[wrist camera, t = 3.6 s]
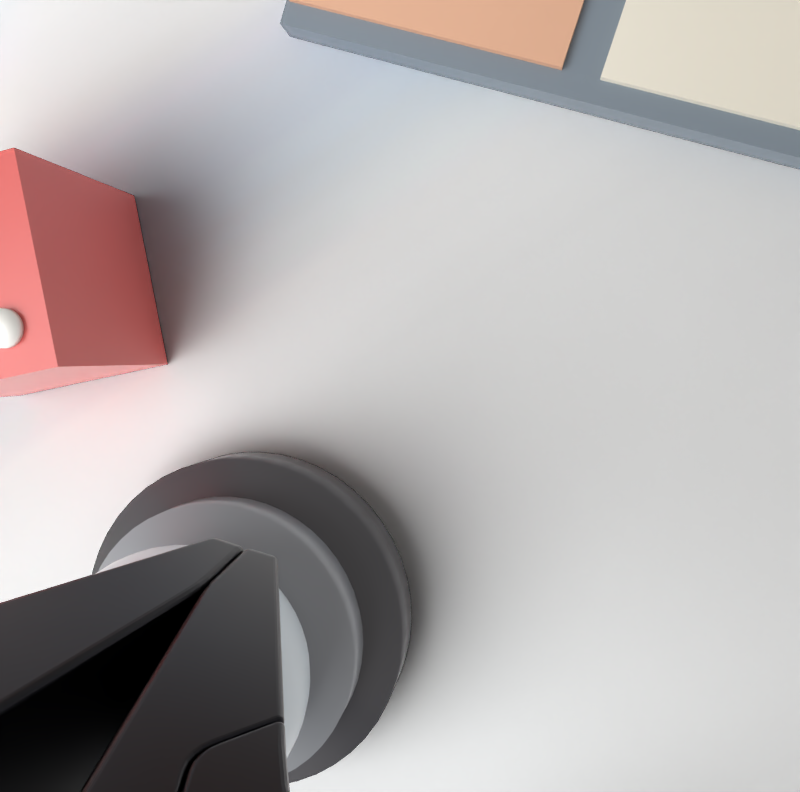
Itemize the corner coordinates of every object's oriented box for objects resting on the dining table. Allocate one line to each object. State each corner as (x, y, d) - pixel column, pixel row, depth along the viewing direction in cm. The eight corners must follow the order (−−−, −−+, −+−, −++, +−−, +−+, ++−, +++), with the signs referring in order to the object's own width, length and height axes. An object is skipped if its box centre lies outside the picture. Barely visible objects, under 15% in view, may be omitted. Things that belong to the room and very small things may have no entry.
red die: (167, 364, 21) (53, 366, 16) (19, 395, 22) (-132, 406, 17) (134, 195, 21) (8, 145, 16) (-13, 233, 22) (-175, 198, 17)
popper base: (385, 791, 21) (373, 824, 19) (101, 715, 22) (71, 741, 21) (434, 483, 20) (427, 493, 19) (137, 427, 22) (108, 432, 20)
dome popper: (341, 795, 19) (253, 994, 13) (91, 727, 20) (-92, 881, 14) (382, 525, 18) (310, 606, 12) (122, 473, 20) (-55, 524, 14)
